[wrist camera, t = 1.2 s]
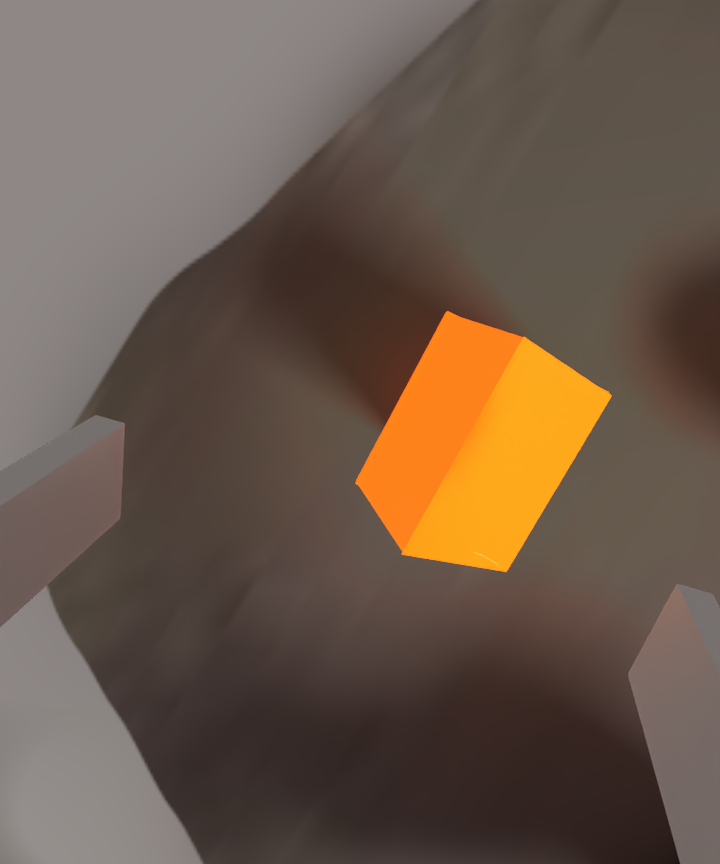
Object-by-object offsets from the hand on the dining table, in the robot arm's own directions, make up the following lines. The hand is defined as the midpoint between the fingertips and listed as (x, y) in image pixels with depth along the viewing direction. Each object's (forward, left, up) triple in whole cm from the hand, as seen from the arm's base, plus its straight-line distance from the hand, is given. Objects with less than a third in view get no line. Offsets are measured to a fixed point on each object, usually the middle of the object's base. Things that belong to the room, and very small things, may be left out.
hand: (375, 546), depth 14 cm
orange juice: (+1, -2, -27) cm, 27 cm away
